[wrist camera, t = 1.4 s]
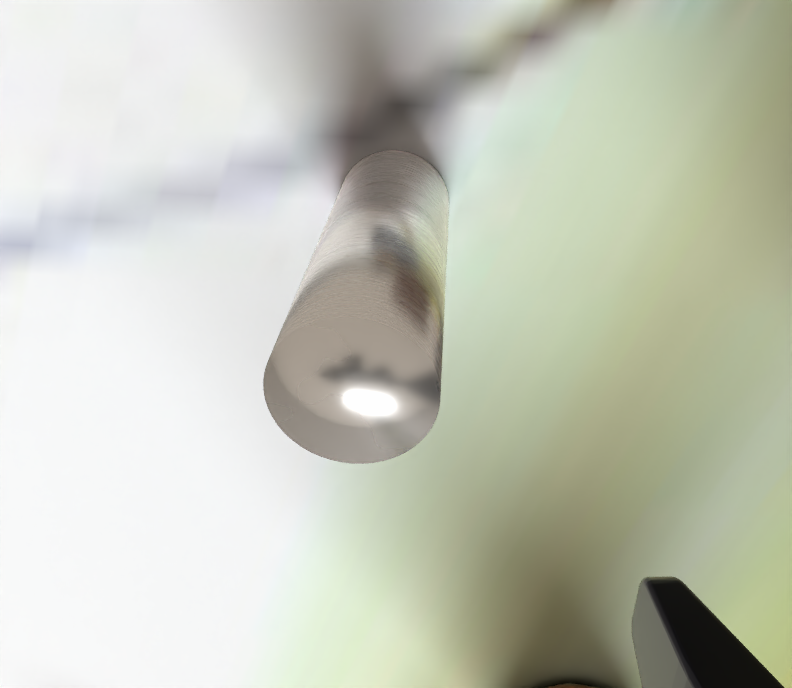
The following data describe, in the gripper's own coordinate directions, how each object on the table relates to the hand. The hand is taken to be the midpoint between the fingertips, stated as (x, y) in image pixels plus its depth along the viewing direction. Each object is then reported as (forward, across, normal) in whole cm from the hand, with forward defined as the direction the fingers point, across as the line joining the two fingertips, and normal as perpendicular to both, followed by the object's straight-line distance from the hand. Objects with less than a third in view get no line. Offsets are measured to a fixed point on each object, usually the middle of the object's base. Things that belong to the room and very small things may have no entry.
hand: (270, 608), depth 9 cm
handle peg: (+13, -2, 0) cm, 13 cm away
